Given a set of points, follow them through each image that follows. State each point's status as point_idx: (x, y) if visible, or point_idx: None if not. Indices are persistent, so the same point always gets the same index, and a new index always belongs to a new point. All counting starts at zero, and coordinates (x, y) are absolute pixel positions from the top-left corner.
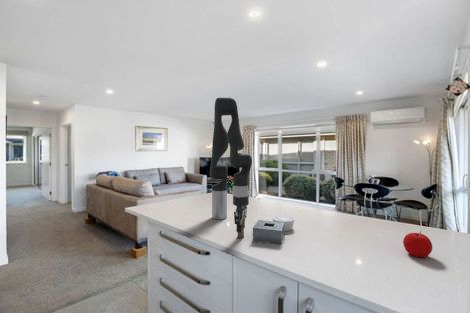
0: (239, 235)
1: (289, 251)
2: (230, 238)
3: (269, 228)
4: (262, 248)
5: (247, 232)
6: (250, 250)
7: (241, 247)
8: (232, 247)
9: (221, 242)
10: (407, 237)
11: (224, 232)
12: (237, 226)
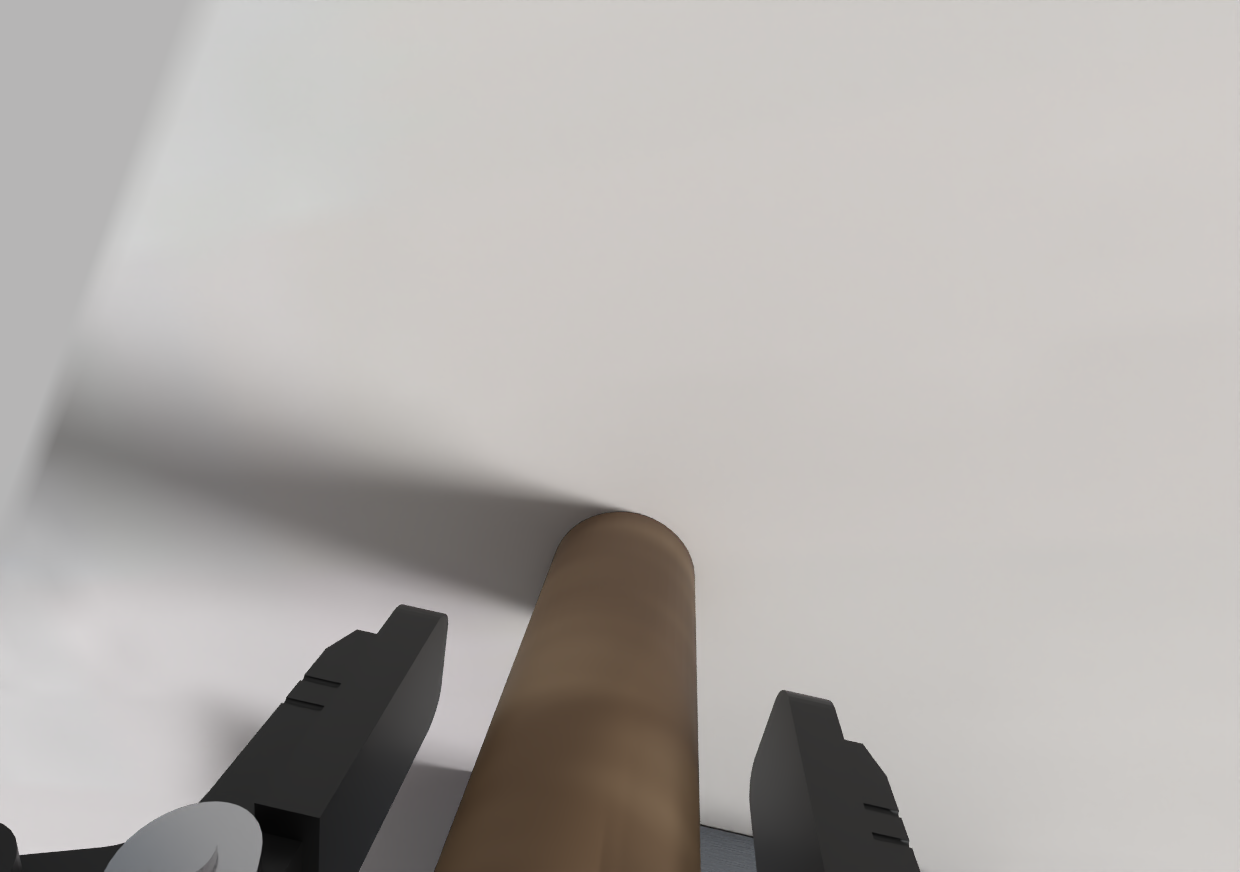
0: (541, 590)
1: None
2: (514, 356)
3: None
4: None
5: (955, 703)
6: (81, 726)
7: (129, 602)
8: (62, 452)
9: (211, 167)
10: None
11: (989, 100)
12: (237, 776)
